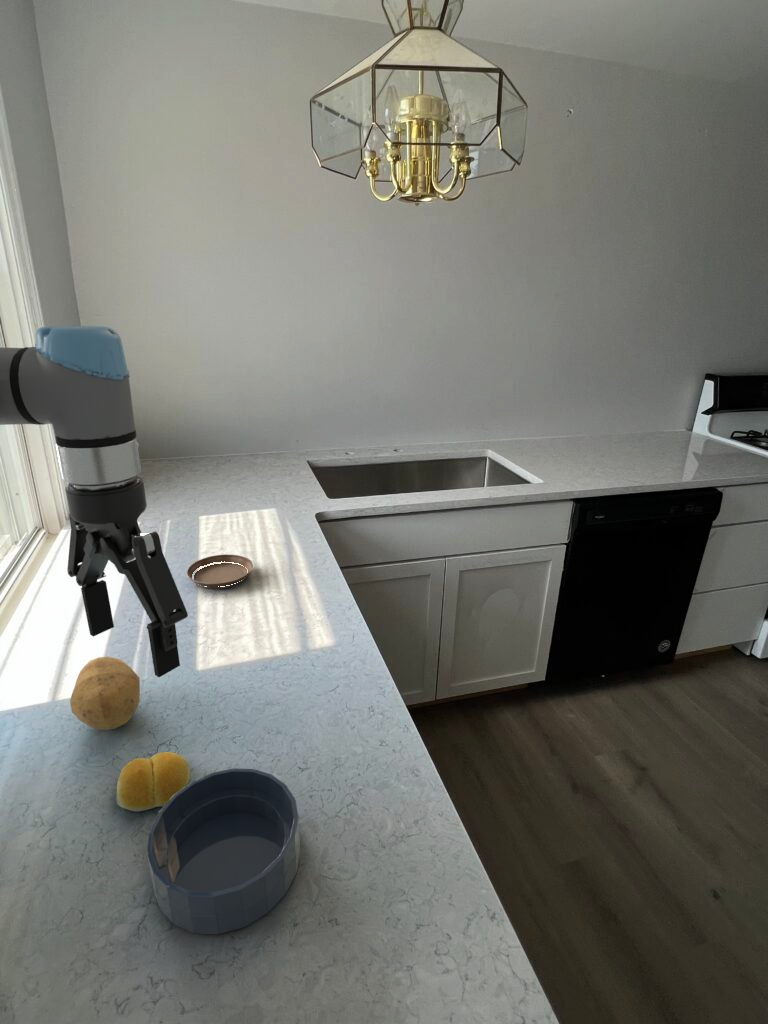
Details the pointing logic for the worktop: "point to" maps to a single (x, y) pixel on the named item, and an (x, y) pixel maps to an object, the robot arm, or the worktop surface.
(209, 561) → the saucer
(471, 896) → the worktop surface
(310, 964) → the worktop surface
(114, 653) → the worktop surface
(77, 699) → the potato
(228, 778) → the blue grey bowl
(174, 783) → the bread roll
